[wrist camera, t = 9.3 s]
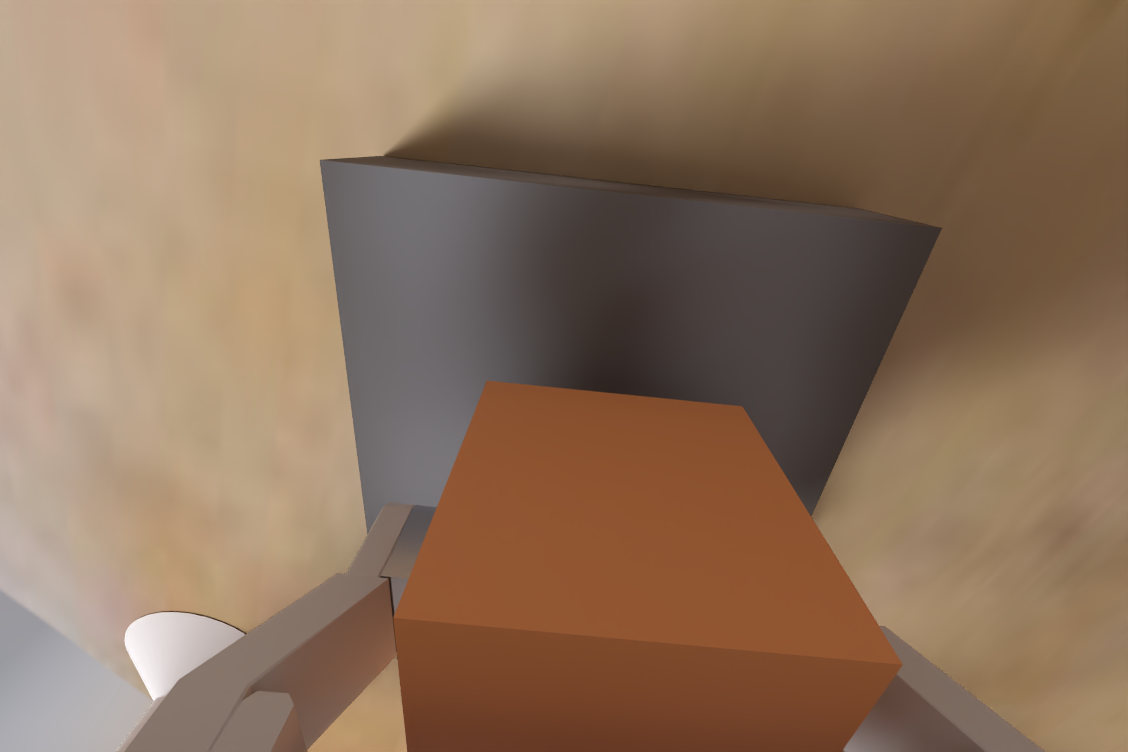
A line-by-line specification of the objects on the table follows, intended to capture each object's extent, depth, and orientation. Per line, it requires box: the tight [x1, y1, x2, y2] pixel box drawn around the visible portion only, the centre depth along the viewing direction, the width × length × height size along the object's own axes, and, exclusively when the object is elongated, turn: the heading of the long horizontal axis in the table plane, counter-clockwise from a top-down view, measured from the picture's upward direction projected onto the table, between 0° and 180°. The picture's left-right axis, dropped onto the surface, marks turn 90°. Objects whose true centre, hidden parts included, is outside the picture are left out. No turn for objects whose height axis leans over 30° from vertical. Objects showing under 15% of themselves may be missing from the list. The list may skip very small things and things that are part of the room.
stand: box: [320, 156, 942, 534], centre depth 13 cm, size 12×12×3 cm
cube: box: [393, 381, 903, 752], centre depth 8 cm, size 5×5×5 cm
